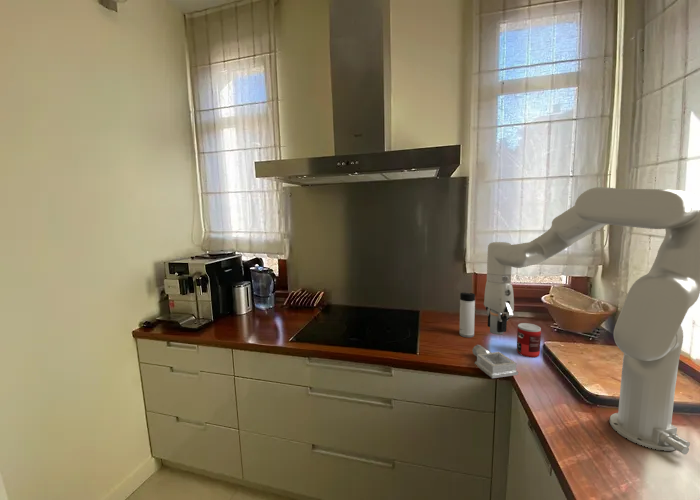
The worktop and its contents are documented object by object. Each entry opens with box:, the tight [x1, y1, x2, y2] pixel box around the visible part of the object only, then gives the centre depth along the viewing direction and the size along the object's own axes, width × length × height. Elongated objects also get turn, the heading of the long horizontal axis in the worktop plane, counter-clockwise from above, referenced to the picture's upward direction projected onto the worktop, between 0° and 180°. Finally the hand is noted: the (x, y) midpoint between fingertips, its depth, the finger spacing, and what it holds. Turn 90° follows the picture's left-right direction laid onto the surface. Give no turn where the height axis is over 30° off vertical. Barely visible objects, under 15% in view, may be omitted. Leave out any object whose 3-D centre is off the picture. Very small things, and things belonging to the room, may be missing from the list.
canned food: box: [516, 322, 542, 358], centre depth 120 cm, size 8×8×11 cm
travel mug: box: [459, 292, 476, 339], centre depth 139 cm, size 6×7×20 cm
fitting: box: [472, 344, 519, 379], centre depth 112 cm, size 16×10×4 cm, turn 11°
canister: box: [489, 309, 505, 336], centre depth 108 cm, size 5×5×8 cm
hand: (496, 328), depth 108 cm, fingers closed on canister, 4 cm apart
